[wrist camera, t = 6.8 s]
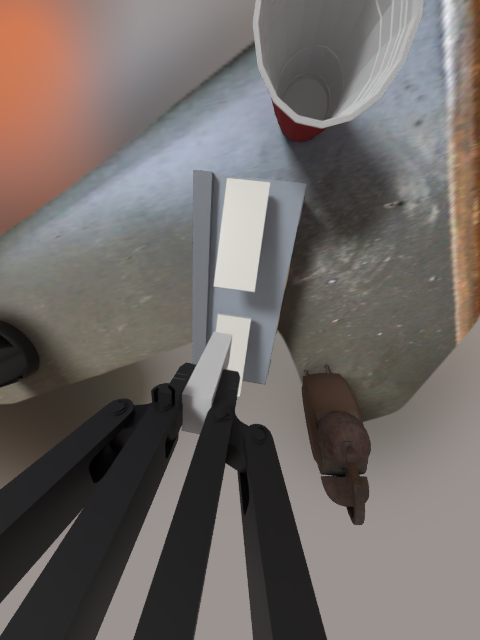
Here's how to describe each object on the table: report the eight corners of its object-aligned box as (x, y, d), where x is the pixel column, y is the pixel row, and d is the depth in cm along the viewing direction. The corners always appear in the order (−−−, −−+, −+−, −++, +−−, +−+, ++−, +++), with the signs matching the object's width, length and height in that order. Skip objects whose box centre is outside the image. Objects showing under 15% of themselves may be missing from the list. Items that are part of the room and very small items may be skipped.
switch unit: (204, 353, 40) (192, 376, 33) (209, 183, 28) (193, 169, 21) (266, 362, 39) (267, 389, 33) (300, 192, 27) (311, 181, 21)
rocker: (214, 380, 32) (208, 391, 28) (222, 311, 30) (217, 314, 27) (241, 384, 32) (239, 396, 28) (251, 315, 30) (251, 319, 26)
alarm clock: (339, 409, 42) (396, 549, 24) (303, 411, 43) (330, 545, 25) (338, 350, 36) (410, 474, 18) (296, 354, 37) (324, 473, 19)
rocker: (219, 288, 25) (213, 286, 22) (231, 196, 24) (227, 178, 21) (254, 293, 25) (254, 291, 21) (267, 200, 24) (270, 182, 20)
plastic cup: (344, 166, 25) (402, 121, 15) (257, 169, 27) (251, 130, 16) (365, 36, 21) (474, -170, 10) (260, 47, 22) (254, -127, 11)
